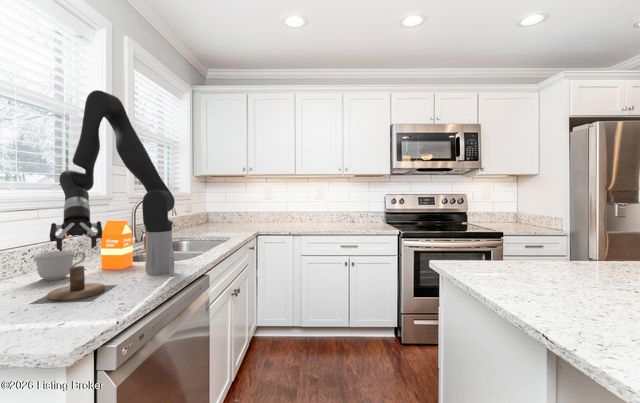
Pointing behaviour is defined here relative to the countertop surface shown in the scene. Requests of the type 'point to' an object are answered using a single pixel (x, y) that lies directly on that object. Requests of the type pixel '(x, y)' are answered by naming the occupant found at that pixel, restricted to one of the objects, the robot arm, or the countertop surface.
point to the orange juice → (116, 245)
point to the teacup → (56, 263)
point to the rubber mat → (45, 300)
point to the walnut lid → (76, 287)
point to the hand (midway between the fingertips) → (77, 248)
